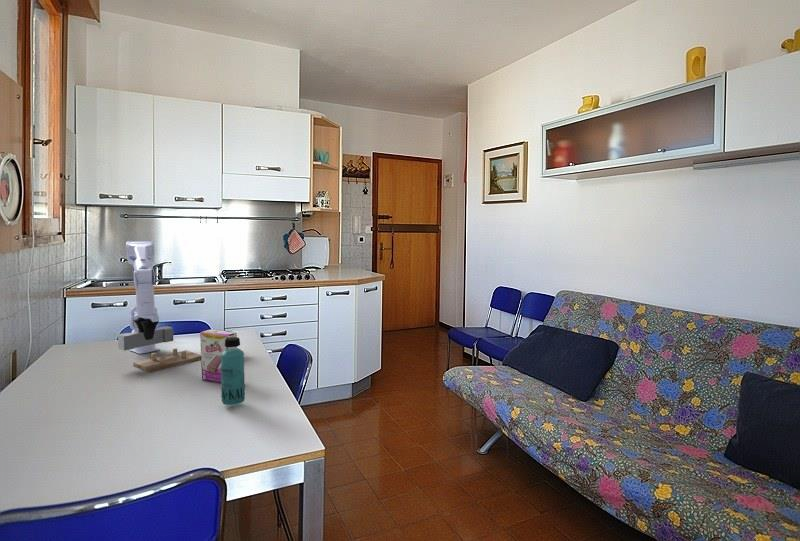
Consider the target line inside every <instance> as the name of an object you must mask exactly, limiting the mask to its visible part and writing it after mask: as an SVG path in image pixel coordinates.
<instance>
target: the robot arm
mask: <svg viewBox="0 0 800 541" xmlns="http://www.w3.org/2000/svg"><path fill="white" fill-rule="evenodd" d="M125 249H126V260H127V263H128V264H129V265H132V266H133V269H134V271H133V283H134V289H135V300H136V302H135V303H136V305H135V306H133V307H131V309H130V311H129V326H130V327H129V328H130V329H132V330H131V332H130V333H133V332H138V331H144V332H145V337H146V340H150V339H153V336H154V331H155V329H156V328H157V327H158V326H159V322H160V321H159V320H160V318H159V317H160V316H159V314H158V309H157V307H156V306H155V286H154V285H155V283H156V282H155V281H156V277H155V276H156V275H155V269H154V267H152V263H153V262H154V260H155V243H154V241H152V240H151V241H130V240H127V242H125ZM160 350H161V348H159V347H157V346H156V344H153V345H147V346H142V347H137V348H134V349H130V350H129V351H130V352H133V353H136V354H139V355H142V354H147V353H150V352H151V353H152V352H155V351H160Z"/></svg>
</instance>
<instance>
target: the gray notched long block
mask: <svg viewBox="0 0 800 541" xmlns="http://www.w3.org/2000/svg"><path fill="white" fill-rule="evenodd" d="M117 339H118V340H117V344H118V349H120V350H122V351H124V352H125V351H130V349H134V348H137V347H142V346H147V345H153V344H155V345H156V344H161V343H169V342H174V327H171V326H160V327H158V328H157V327H156V328H155V331H154V336H153V339H150V340H146V337H145V332H144V331H138V332H133V333H131V332H126V333H125V332H124V333H119V334H117Z"/></svg>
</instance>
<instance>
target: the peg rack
mask: <svg viewBox="0 0 800 541" xmlns="http://www.w3.org/2000/svg"><path fill="white" fill-rule="evenodd" d="M150 355H151V357H150V358H145V359H141V360H138V361H134V362H132V363H133V367H135V368H139V369H141V370H144V371H146V372H147V373H152V372H156V371H160V370H164V369H169V368H173V367H176V365H177V366H180V364H181V365H184V363H185V364H187V363H188V362H189V363H192V362H191V361H193V362H196V361H195V360H197V361H199V359H201V354H199V353H196V352H193V351H190V350H182V351H178V348H176V347H175V348H172V353H169V354H164V355H159V356H157V352H153V353H152V352H151V354H150ZM172 366H173V367H172Z"/></svg>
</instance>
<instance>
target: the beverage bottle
mask: <svg viewBox="0 0 800 541" xmlns="http://www.w3.org/2000/svg"><path fill="white" fill-rule="evenodd" d="M239 346H241V341H240V337H238V336H237V337H230V338H226V339H225V347H237V348H229V349H226V350H224V351H223V352H222V353H221V383H220V385H221V387H220V388H221V394H220V395H221V396H220V398H221V400H220V401H221V403H222V404H223V405H226V406H235V405H239V404H242V403H243V402H244V401H245V399H246V388H245V387H246V385H245V352H244V351H243V350H242V349H241V348H238V347H239Z"/></svg>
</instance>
